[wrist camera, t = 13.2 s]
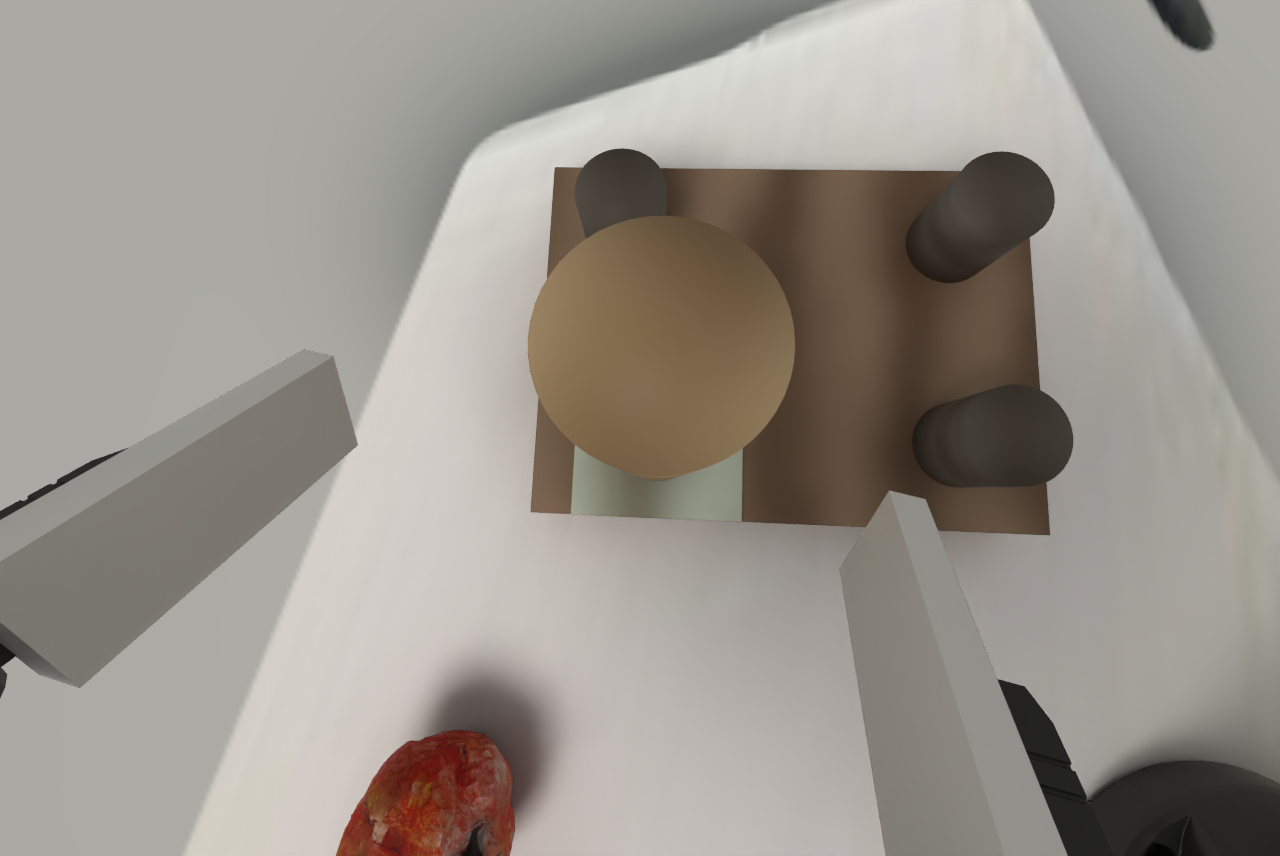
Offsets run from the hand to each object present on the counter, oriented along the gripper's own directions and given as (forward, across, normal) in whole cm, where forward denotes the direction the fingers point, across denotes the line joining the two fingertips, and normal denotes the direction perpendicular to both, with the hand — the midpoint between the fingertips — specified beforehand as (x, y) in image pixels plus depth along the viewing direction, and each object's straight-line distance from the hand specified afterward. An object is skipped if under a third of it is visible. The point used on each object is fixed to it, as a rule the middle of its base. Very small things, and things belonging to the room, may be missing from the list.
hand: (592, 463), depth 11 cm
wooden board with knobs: (+16, +6, -4) cm, 18 cm away
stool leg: (+10, +1, -6) cm, 11 cm away
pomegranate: (-1, -5, -23) cm, 23 cm away
